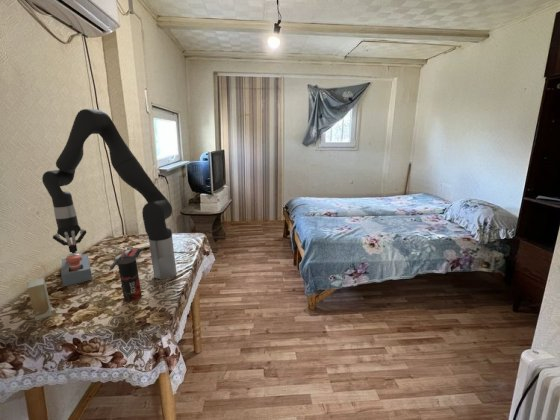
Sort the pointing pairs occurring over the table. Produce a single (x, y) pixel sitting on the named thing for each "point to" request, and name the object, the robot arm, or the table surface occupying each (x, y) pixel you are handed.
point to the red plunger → (74, 262)
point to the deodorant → (129, 279)
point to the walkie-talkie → (127, 255)
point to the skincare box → (39, 298)
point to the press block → (76, 272)
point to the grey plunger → (74, 254)
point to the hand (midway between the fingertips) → (74, 252)
